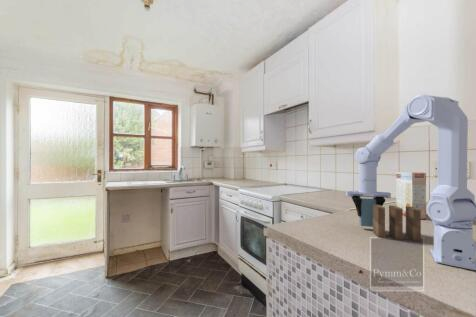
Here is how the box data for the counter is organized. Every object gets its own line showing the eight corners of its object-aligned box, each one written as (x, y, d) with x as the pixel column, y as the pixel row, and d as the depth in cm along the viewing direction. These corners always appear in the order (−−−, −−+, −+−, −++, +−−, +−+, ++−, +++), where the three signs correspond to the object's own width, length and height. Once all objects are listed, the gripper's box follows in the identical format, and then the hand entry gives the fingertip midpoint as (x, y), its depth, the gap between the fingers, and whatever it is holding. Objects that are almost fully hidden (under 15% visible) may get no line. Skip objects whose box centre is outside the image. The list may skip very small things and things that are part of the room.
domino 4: (412, 236, 74) (412, 206, 74) (420, 241, 69) (420, 209, 70) (405, 235, 75) (405, 206, 75) (413, 240, 70) (413, 209, 70)
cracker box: (427, 219, 97) (426, 172, 97) (411, 219, 98) (411, 172, 98) (409, 212, 110) (409, 171, 111) (395, 212, 112) (395, 171, 112)
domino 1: (376, 227, 80) (376, 199, 80) (361, 225, 81) (361, 199, 81) (374, 225, 82) (374, 198, 82) (359, 224, 83) (359, 198, 83)
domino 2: (379, 233, 77) (379, 204, 77) (385, 238, 72) (385, 207, 72) (373, 232, 77) (373, 204, 77) (378, 237, 72) (378, 207, 73)
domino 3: (395, 234, 75) (395, 205, 76) (402, 239, 71) (402, 208, 71) (389, 234, 76) (389, 205, 76) (395, 238, 71) (395, 208, 71)
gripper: (385, 179, 84) (385, 215, 83) (344, 178, 88) (344, 212, 87) (393, 181, 77) (393, 220, 77) (348, 180, 81) (348, 216, 80)
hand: (367, 216), depth 81 cm, fingers closed on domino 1, 5 cm apart
